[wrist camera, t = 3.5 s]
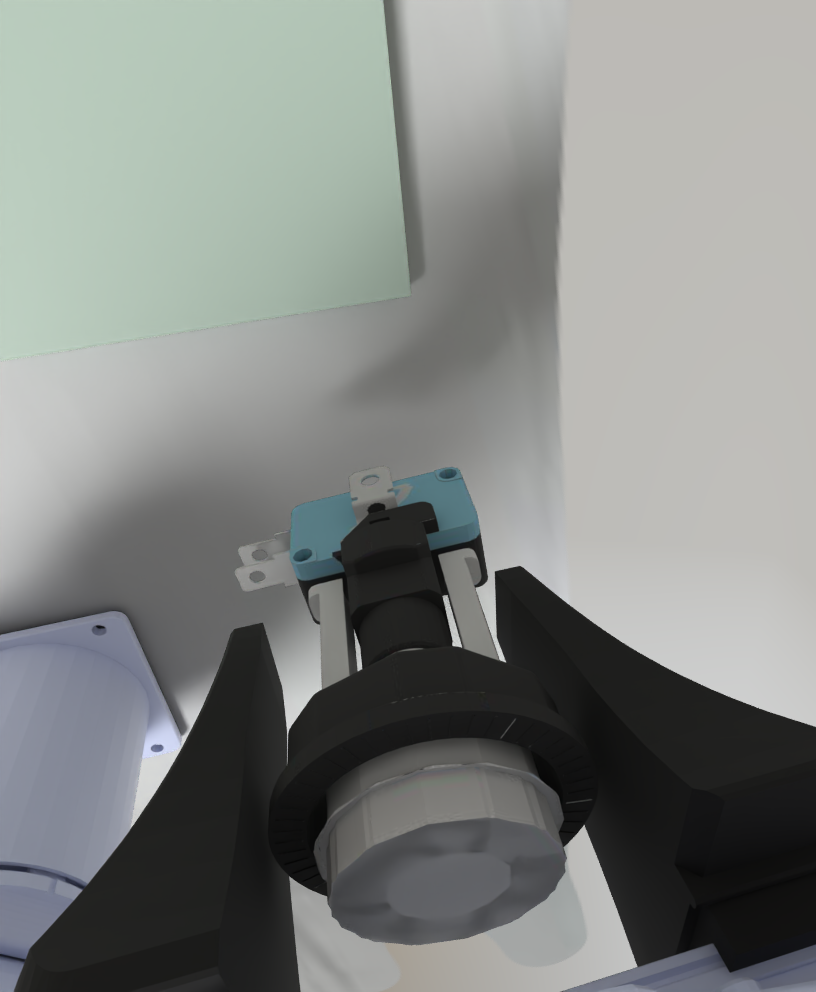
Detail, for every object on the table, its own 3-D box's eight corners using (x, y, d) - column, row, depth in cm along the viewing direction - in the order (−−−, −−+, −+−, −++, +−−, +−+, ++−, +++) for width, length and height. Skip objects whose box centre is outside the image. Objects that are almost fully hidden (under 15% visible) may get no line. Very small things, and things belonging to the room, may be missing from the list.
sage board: (11, 350, 19) (-1, 361, 18) (-255, -243, 12) (-292, -269, 11) (404, 289, 20) (411, 296, 19) (349, -265, 14) (355, -291, 13)
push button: (272, 611, 19) (245, 1016, 11) (207, 464, 16) (100, 864, 8) (485, 559, 19) (625, 922, 11) (459, 403, 16) (623, 735, 8)
